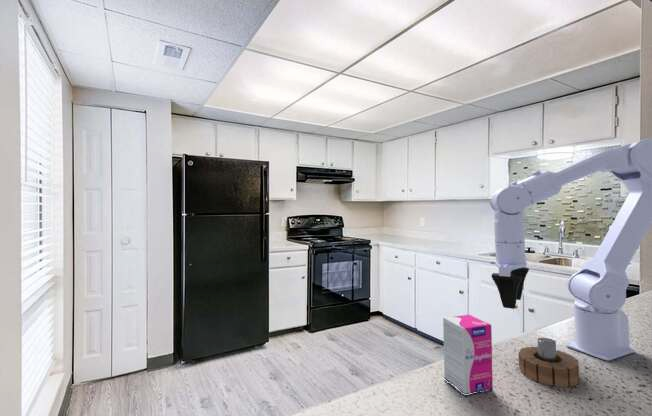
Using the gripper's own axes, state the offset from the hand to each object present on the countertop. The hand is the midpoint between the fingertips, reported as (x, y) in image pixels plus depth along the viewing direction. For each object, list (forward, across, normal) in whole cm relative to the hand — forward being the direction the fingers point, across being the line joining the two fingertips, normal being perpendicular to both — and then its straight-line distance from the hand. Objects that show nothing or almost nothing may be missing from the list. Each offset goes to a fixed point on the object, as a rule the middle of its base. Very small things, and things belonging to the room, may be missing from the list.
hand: (512, 303), depth 72 cm
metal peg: (+9, +10, +7) cm, 15 cm away
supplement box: (+10, +22, -4) cm, 24 cm away
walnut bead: (+9, +10, +7) cm, 15 cm away
